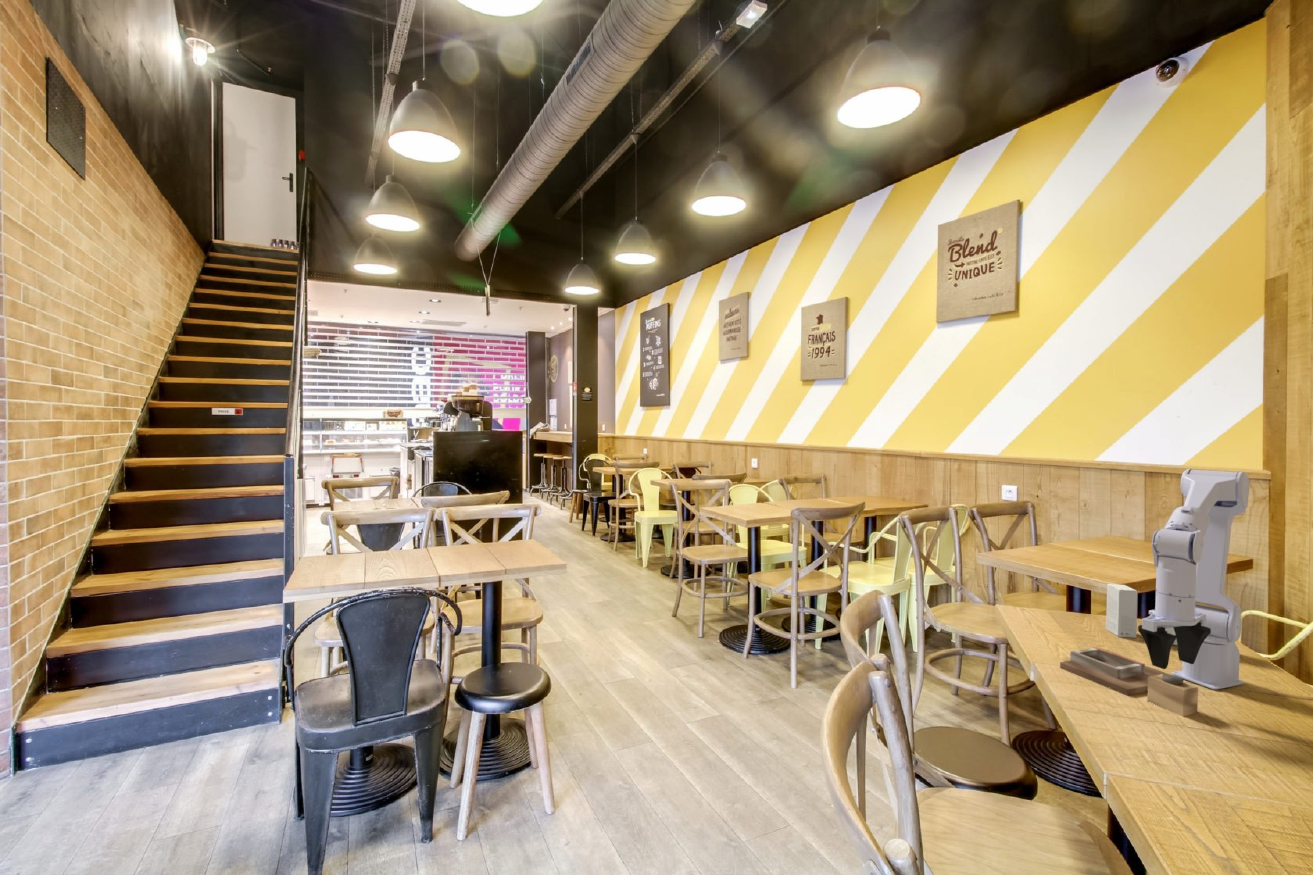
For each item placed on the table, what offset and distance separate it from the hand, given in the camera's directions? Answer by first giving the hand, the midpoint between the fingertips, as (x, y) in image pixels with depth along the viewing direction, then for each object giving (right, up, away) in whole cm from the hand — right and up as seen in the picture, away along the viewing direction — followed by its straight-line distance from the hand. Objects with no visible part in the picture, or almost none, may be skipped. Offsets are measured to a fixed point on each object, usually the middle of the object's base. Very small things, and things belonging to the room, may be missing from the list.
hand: (1173, 664), depth 114 cm
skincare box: (+21, -7, +40) cm, 45 cm away
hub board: (+1, -8, +14) cm, 16 cm away
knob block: (0, -8, 0) cm, 8 cm away
